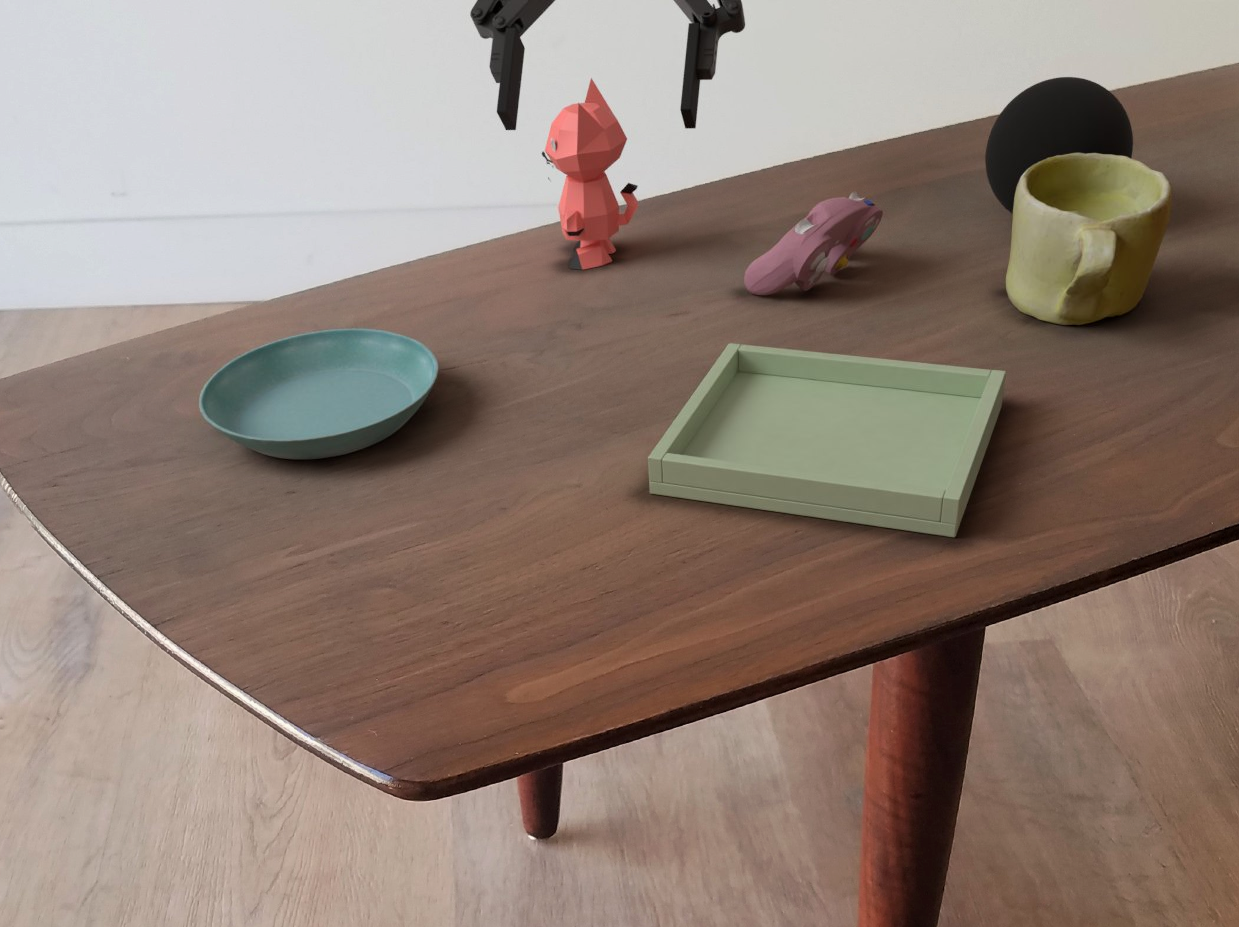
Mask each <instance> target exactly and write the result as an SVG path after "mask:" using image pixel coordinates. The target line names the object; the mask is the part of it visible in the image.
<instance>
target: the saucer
mask: <svg viewBox="0 0 1239 927" xmlns="http://www.w3.org/2000/svg"><path fill="white" fill-rule="evenodd" d="M438 362H439V361H438V359H437V357H436V355H435V353H434V352H433V351H432V350H431V348H429V347H428V346H427V345H426V344H423V343H422V342H421V341H419V340H417V339H414V338H412V337H410V336H407V335H403V334H399V333H396V332H393V331H388V330H382V329H374V328H373V329H371V328H361V327H360V328H357V327H356V328H333V329H332V328H331V329H324V330H319V331H311V332H306V333H305V332H304V333H300V334H295V335H291V336H287V337H284V338H280V339H278V340H274V341H271V342H268V343H266V344H263V345H260V346H257V347H255V348H253V349H251V350H249V351H246V352H243V354H241V355H239V356H237V357H235V358H233V359H232V360H230V361H228V362H227V363H225V364H224V365H223V366H222V367H220V368H219V369H218V370H217V371H216V372H214V373H213V375H211V377H210V378H209V379H208V380H207V381H206V383H205V384H204V385H203V388H201V391H200V395H199V398H198V407H199V411H200V413H201V415H202V417H203V419H205V420H206V422H207V423H209V424H210V425H211V426H212V427H213V428H214V429H215V430H217V431H218V432H220V434H222V435H223V436H225V437H226V438H227V439H230V440H231V441H233V442H234V443H237V444H239V445H241V446H243V447H245V448H247V449H248V450H249V449H250V450H253V451H254V452H256V453H260V454H262V455H265V456H268V457H273V458H278V459H286V460H320V459H328V458H333V457H339V456H344V455H347V454H350V453H354V452H357V451H360V450H363V449H366V448H369V447H370V446H373V445H375V444H377V443H379V442H380V443H381V441H383V440H385V439H387V438H388V437H391V436H392V435H393V434H395V433H396V432H397V431H398V430H400V429H401V428H402V427H404V425H406V423H407V422H408V421H409V420H410V419H411V418H412V417H413V416H414V415H415V414H416V412H418V410H419V409H420V407H422V405H423V403H424V402H425V401H426V399H427V398H428V396H429V395H430V392H431V391H432V389H433V388H434V385H435V383H436V380H437V378H438V374H439V363H438Z"/></svg>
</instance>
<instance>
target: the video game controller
mask: <svg viewBox="0 0 1239 927" xmlns="http://www.w3.org/2000/svg"><path fill="white" fill-rule="evenodd" d="M883 216H884V211H883V210H882V209H881V208H880V207H878V206H877V205H875V203H874V202H872V201H871V200H870V199H867V198H866V197H862V198H861V197H859V195H858V194H857V192H856V191H853V192H851V193H850V195H849V196H848V197H846V196H839V197H832V198H831V197H830V198H828V199H825V200H822V201H820V202H818V203H817V204H816V205H815V206H814V207H813V208H812V209H811V210H810V211H809V213H808V214H807V215H806V217H805V218H803V219H801V220H800V221H799V222H798V223H796V224H795V225H794V226H793V227H791V229H790V230H788V232H786V233H785V234H784V236H782V238H781V239H780V240H779V241H778V242H777V243H776V244H775V245H774V246H773V247H771V248H770V249H769V250H768V251H767V252H765V253H764V254H762V255H760V256H759V257H757V258H756V259H755V260H753V261H752V262H751V263H750V264H749V265H748V267H747V268H746V270H745V272H744V277H743V278H744V279H743V282H744V285H745V286H744V287H746V288H745V289H746V290H747V291H748V292H749V293H750V294H752V295H756V296H769V295H773V294H777V293H779V292H781V291H782V290H784V289H786V288H787V287H789V286H791V285H793V284H794V283H795V284H796V286H797V287H798V288H800V289H801V290H802V291H804V292H807V291H809V290H810V289H811V288H813V287H815V285H816V284H817V283H818V281H819V280H820V279H821V278H822V276H823V274H824V272H826V273H827V274H829V275H830V276H833V275H836V274H837V273H839V272H840V271H841V270H843V269H845V268H846V267H847V266H848V264H849V260H850V259H851V258H852V256H853V255H854V254H855V253H856V252H857V250H858V249H860V247H862V245H864V244H865V243H866V242H867V241H868V239H870V237H871V236H872V235H873V234H874V232H875V231H876V229H877V228H878V226H879V224H880V222H881V221H882V218H883Z"/></svg>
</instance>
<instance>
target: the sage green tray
mask: <svg viewBox="0 0 1239 927" xmlns="http://www.w3.org/2000/svg"><path fill="white" fill-rule="evenodd" d="M722 351H723V352H722V353H721V354H720V356H718V358H717V359H716V361H715V363H714V364H713V365H712V366H711V368H710V369H709V371H708V372H707V374H706V375H705V376H704V378H703V379H702V380H701V382H700V383H699V385H698V386H697V388H696V389H695V391H694V392H693V393H692V394H691V397H690V398H689V399H688V400H687V402H686V403H685V404H684V405H683V408H682V409H681V410H680V412H679V413H678V414H677V416H676V417H675V418H674V420H673V422H672V423H671V424H670V426H669V427H668V429H667V430H666V431H665V433H664V434H663V435H662V437H661V438H660V440H659V441H658V443H657V444H656V446H655V447H654V448H653V450H652V451H651V452H650V453H649V455H648V456H647V463H648V465H647V467H648V481H649V482H648V483H649V484H648V485H649V494H650V495H657V496H665V497H671V498H679V499H686V500H693V501H699V502H700V501H701V502H708V503H713V504H721V505H728V506H734V507H741V508H746V509H753V510H763V511H768V512H775V513H783V514H790V515H795V516H802V517H810V518H817V519H825V520H831V521H837V522H844V523H852V524H858V525H865V526H872V527H879V528H887V529H893V530H899V531H906V532H907V531H908V532H914V533H922V534H926V535H927V534H929V535H935V536H942V537H948V538H956V536H957V533H958V531H959V528H960V525H961V522H962V519H963V517H964V514H965V511H966V509H967V504H968V502H969V499H970V497H971V494H972V491H973V488H974V486H975V483H976V480H977V477H978V474H979V471H980V469H981V465H982V463H983V460H984V458H985V454H986V452H987V449H988V446H989V444H990V440H991V439H992V438H991V437H992V435H993V432H994V429H995V427H996V423H997V420H998V417H999V415H1000V412H1001V409H1002V406H1003V398H1004V396H1003V395H1004V391H1005V384H1006V383H1005V382H1006V374H1007V371H1006V370H998V369H986V368H977V367H966V366H958V365H957V366H956V365H948V364H947V365H946V364H937V363H928V362H918V361H917V362H916V361H907V360H898V359H889V358H879V357H878V358H877V357H869V356H860V355H859V356H858V355H850V354H839V353H830V352H829V353H828V352H820V351H819V352H818V351H810V350H800V349H792V348H791V349H789V348H780V347H770V346H761V345H753V344H752V345H750V344H741V343H733V342H729V343H728V344H727V345H726V347H725V349H724V350H722Z"/></svg>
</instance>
